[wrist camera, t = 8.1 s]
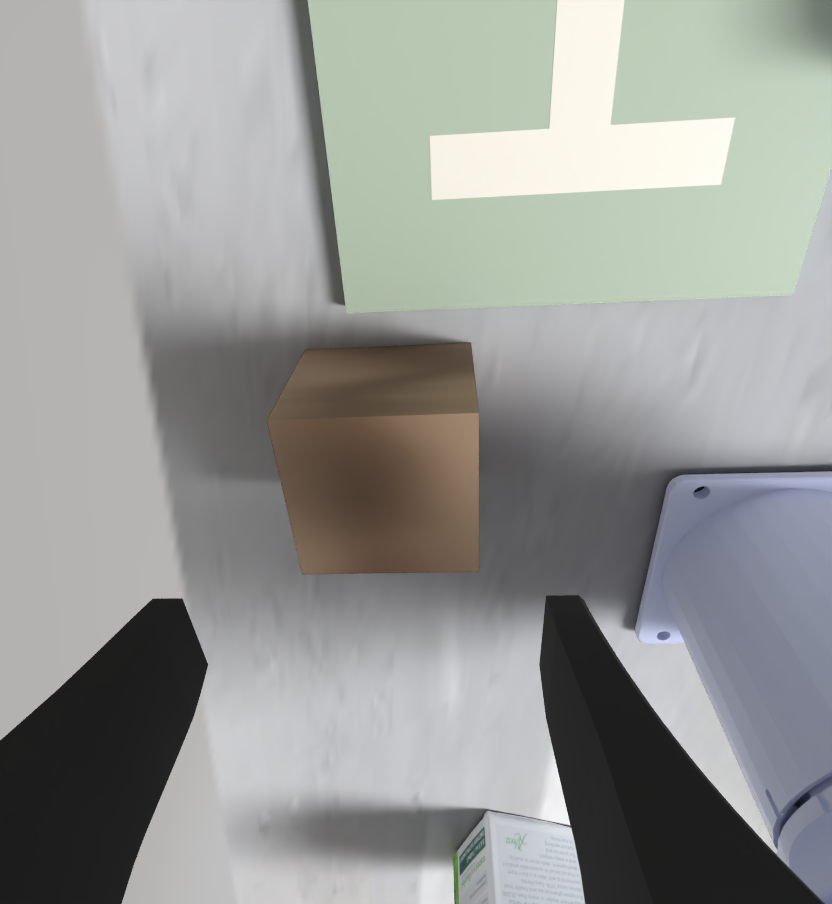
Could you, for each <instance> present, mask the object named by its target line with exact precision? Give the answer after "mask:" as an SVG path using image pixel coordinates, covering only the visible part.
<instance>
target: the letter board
mask: <svg viewBox="0 0 832 904" xmlns="http://www.w3.org/2000/svg"><path fill="white" fill-rule="evenodd" d="M308 7H309V15H310V23H311V31H312V39H313V48H314V56H315V64H316V72H317V80H318V88H319V96H320V104H321V112H322V120H323V128H324V137H325V145H326V153H327V161H328V169H329V177H330V185H331V193H332V201H333V209H334V217H335V226H336V234H337V242H338V250H339V258H340V266H341V274H342V282H343V290H344V298H345V306H346V313H368V312H392V311H417V310H441V309H465V308H490V307H514V306H538V305H562V304H587V303H611V302H635V301H660V300H684V299H708V298H733V297H757V296H781V295H793V294H794V291H795V287H796V284H797V281H798V277H799V274H800V271H801V267H802V264H803V261H804V258H805V254H806V251H807V248H808V244H809V241H810V238H811V235H812V231H813V228H814V225H815V221H816V218H817V215H818V212H819V208H820V205H821V202H822V198H823V195H824V192H825V189H826V185H827V182H828V179H829V175H830V172H831V169H832V0H308Z"/></svg>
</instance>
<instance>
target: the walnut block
mask: <svg viewBox="0 0 832 904" xmlns="http://www.w3.org/2000/svg"><path fill="white" fill-rule="evenodd" d="M267 423H268V428H269V432H270V437H271V441H272V445H273V450H274V454H275V458H276V463H277V467H278V471H279V476H280V480H281V484H282V489H283V493H284V497H285V502H286V506H287V511H288V515H289V519H290V524H291V528H292V532H293V537H294V541H295V545H296V550H297V554H298V558H299V563H300V567H301V571H302V574H354V573H420V572H479V409H478V401H477V392H476V383H475V374H474V365H473V356H472V348H471V343H452V344H428V345H405V346H381V347H358V348H334V349H311V350H305V351H304V353H303V355H302V356H301V358H300V360H299V362H298V364H297V366H296V367H295V369H294V371H293V373H292V375H291V377H290V378H289V380H288V382H287V384H286V386H285V388H284V389H283V391H282V393H281V395H280V397H279V399H278V400H277V402H276V404H275V406H274V408H273V410H272V411H271V413H270V415H269V417H268V419H267Z"/></svg>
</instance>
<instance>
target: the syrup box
mask: <svg viewBox="0 0 832 904" xmlns="http://www.w3.org/2000/svg"><path fill="white" fill-rule="evenodd" d="M453 867H454V900H455V904H585V899H584V893H583V886H582V879H581V873H580V867H579V862H578V857H577V852H576V847H575V842H574V838H573V833H572V829H571V827H567V826H563V825H560V824H556V823H552V822H547V821H542V820H537V819H533V818H527V817H522V816H516V815H510V814H504V813H498V812H492V811H487V812H485V814H484V815H483V819H482V820H481V821H480V822H479V824H478V825H477V826H476V827H475V828H474V830H473V831H472V832H471V833H470V835H469V836H468V837H467V839H466V840H465V841H464V843H463V844H462V845H461V847H460V848H459V849H458V851H457V852H456V853H455V855H454V856H453Z"/></svg>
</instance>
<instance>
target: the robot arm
mask: <svg viewBox="0 0 832 904" xmlns="http://www.w3.org/2000/svg"><path fill="white" fill-rule="evenodd" d="M702 486H705V487H704V489H702V490H701V491H699V492H694V491H695V490H696V489H697V488H699V487H702ZM635 633H636V636H637V638H638V640H639V641H641V642H643V643H685V645H686V647H687V649H688V651H689V654H690V656H691V658H692V660H693V663H694V665H695V667H696V669H697V672H698V674H699V676H700V678H701V681H702V683H703V685H704V687H705V690H706V692H707V694H708V696H709V699H710V701H711V703H712V705H713V708H714V710H715V712H716V714H717V717H718V719H719V721H720V723H721V726H722V728H723V730H724V732H725V735H726V737H727V739H728V741H729V744H730V746H731V748H732V750H733V753H734V755H735V757H736V760H737V762H738V764H739V766H740V769H741V771H742V773H743V775H744V778H745V780H746V782H747V784H748V787H749V789H750V791H751V793H752V796H753V798H754V800H755V802H756V805H757V807H758V809H759V811H760V814H761V816H762V818H763V820H764V823H765V825H766V827H767V829H768V832H769V834H770V836H771V838H772V841H773V843H774V845H775V847H776V848H777V855H776V854H775V853H774V852H773V851H772V850H771V849H770V848H769V847H768V846H767V845H766V843H765V842H764V841H763V840H762V839H761V838H760V837H759V836H758V835H757V834H756V833H755V831H754V830H753V829H752V828H751V827H750V826H749V825H748V824H747V823H746V822H745V821H744V819H743V818H742V817H741V816H740V815H739V814H738V813H737V812H736V811H735V810H734V808H733V807H732V806H731V805H730V804H729V803H728V802H727V800H726V799H725V798H724V797H723V796H722V795H721V793H720V792H719V791H718V790H717V789H716V788H715V787H714V785H713V784H712V783H711V782H710V781H709V780H708V778H707V777H706V776H705V775H704V774H703V772H702V771H701V770H700V769H699V767H698V766H697V765H696V764H695V763H694V761H693V760H692V759H691V758H690V756H689V755H688V754H687V753H686V751H685V750H684V749H683V748H682V746H681V745H680V744H679V742H678V741H677V740H676V739H675V737H674V736H673V735H672V733H671V732H670V731H669V729H668V728H667V727H666V726H665V724H664V723H663V722H662V720H661V719H660V718H659V716H658V715H657V714H656V712H655V711H654V709H653V708H652V707H651V705H650V704H649V703H648V701H647V700H646V698H645V697H644V695H643V694H642V692H641V691H640V690H639V688H638V687H637V685H636V684H635V682H634V681H633V680H632V678H631V677H630V675H629V674H628V672H627V671H626V669H625V668H624V666H623V665H622V663H621V662H620V660H619V659H618V657H617V656H616V654H615V652H614V651H613V649H612V648H611V646H610V645H609V643H608V641H607V640H606V638H605V637H604V635H603V633H602V632H601V630H600V628H599V627H598V625H597V623H596V621H595V620H594V618H593V616H592V614H591V613H590V611H589V609H588V607H587V605H586V603H585V601H584V600H583V599H582V598H581V597H580V596H579V595H566V596H546V603H545V614H544V624H543V634H542V645H541V655H540V672H541V681H542V689H543V697H544V705H545V713H546V719H547V724H548V728H549V733H550V737H551V742H552V746H553V751H554V755H555V759H556V764H557V768H558V772H559V777H560V781H561V785H562V790H563V794H564V798H565V803H566V807H567V811H568V816H569V820H570V825H571V829H572V833H573V838H574V842H575V847H576V852H577V857H578V862H579V867H580V873H581V879H582V886H583V893H584V899H585V904H832V471H826V472H782V473H737V474H692V475H680V476H677V477H675V478H673V479H672V480H671V481H670V482H669V484H668V486H667V489H666V494H665V498H664V502H663V507H662V511H661V516H660V520H659V525H658V529H657V533H656V538H655V542H654V547H653V551H652V556H651V560H650V565H649V569H648V573H647V578H646V582H645V587H644V591H643V596H642V600H641V605H640V609H639V613H638V618H637V622H636V627H635ZM207 667H208V663H207V661H206V658H205V656H204V653H203V651H202V648H201V645H200V643H199V640H198V638H197V635H196V633H195V630H194V627H193V625H192V622H191V620H190V617H189V615H188V612H187V609H186V607H185V604H184V602H183V599H152V600H151V601H150V602H149V603H148V604H147V605H146V606H145V607H144V608H142V609H141V610H140V612H138V613H137V614H136V615H135V616H134V617H133V618H132V619H131V620H130V621H129V622H128V623H127V624H126V625H125V626H124V627H123V628H122V629H121V630H120V631H119V632H118V633H117V634H116V635H115V636H114V637H113V638H112V639H111V640H109V641H108V642H107V643H106V644H105V645H104V646H103V647H102V648H101V649H100V650H99V651H98V652H97V653H96V654H95V655H94V656H93V657H92V658H91V659H90V660H89V661H88V662H87V663H85V665H83V666H82V667H81V668H80V669H79V670H78V671H77V672H76V673H75V674H74V675H73V676H72V677H71V678H70V679H69V680H68V681H67V682H66V683H64V685H62V686H61V687H60V688H59V689H58V690H57V691H56V692H55V693H54V694H53V695H51V696H50V697H49V698H48V699H47V700H46V701H45V702H43V703H42V704H41V705H40V706H39V707H38V708H37V709H35V710H34V711H33V712H32V713H31V714H30V715H29V716H28V717H26V719H24V720H23V721H22V722H21V723H20V724H19V725H17V726H16V727H15V728H14V729H13V730H12V731H11V732H10V733H8V735H6V736H5V737H4V738H3V739H2V740H0V904H121V903H122V900H123V897H124V894H125V890H126V887H127V884H128V881H129V878H130V875H131V871H132V868H133V865H134V862H135V860H136V857H137V854H138V852H139V849H140V846H141V844H142V841H143V838H144V836H145V833H146V831H147V828H148V826H149V824H150V821H151V819H152V816H153V814H154V812H155V809H156V807H157V804H158V802H159V799H160V797H161V795H162V792H163V790H164V787H165V785H166V783H167V780H168V778H169V775H170V773H171V770H172V768H173V766H174V763H175V761H176V758H177V756H178V754H179V751H180V749H181V746H182V744H183V741H184V739H185V737H186V734H187V732H188V729H189V727H190V724H191V722H192V719H193V717H194V713H195V710H196V707H197V703H198V700H199V697H200V693H201V690H202V686H203V682H204V678H205V674H206V671H207Z"/></svg>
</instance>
